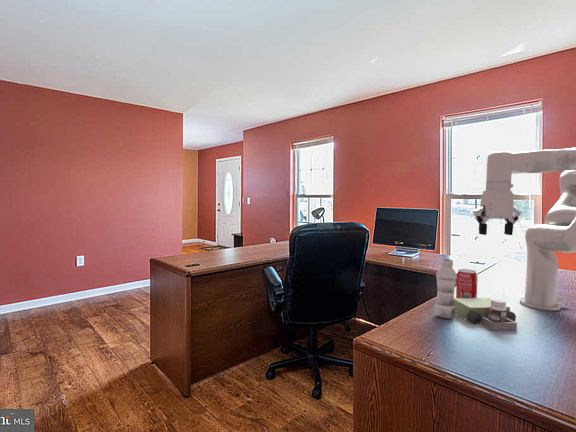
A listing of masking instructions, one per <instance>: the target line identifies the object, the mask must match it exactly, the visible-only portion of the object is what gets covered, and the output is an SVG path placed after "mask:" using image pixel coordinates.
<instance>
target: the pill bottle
mask: <svg viewBox="0 0 576 432" xmlns="http://www.w3.org/2000/svg"><path fill="white" fill-rule="evenodd" d="M490 299H491V305H490V306H489V318H488V319H489V320H490V321H492V322H506V310H507V309H506V307H505V306H507V302H506V301H505V300H503V299H499V298H490Z"/></svg>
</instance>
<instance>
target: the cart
mask: <svg viewBox="0 0 576 432" xmlns="http://www.w3.org/2000/svg"><path fill="white" fill-rule="evenodd" d="M491 299H492V298H490V297H477V298H456V297H454V305H455V315H456V316H457V317H460V318H461V319H462V320H464V319H465V321H466V322H467V323H471V324H473V325H478V324H480V325H482V326H484V327H485V326H486V327H485V328H487V329H489V330H490V329H491V330H490V331H492V330H493V332H516V331H517V328H518V326H517V325H518V323H517V322H516V319H517V315H516V314H515V312H512V311H511V307H510V306H507V305H506V306H505V307H506V309H507V310H506V322H492V321H490V320H489V319H488V318H489V306H490V305H491Z"/></svg>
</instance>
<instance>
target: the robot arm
mask: <svg viewBox="0 0 576 432" xmlns="http://www.w3.org/2000/svg"><path fill="white" fill-rule="evenodd" d="M486 160H487V161H486V177H485V178H486V179H485V180H486V182H485V190H483V191H482V194H481V198H480V205H479V207H478V208H476V209H474V210H472V214H473V216H474V219H475V220H476V221H477V223H478V234H479V235H483V236H486V235H487V234H488V224H487V222H488V221H489V220H490V219H495V220H497V219H499V220H501V219H503V220H504V221H505V222H506V223H505V224H504V230H503V231H504V235H507V236H513V232H514V225H515V224H516V222H517V221H518V219H519V217H520V216H521V214H522V213H521V212H522V211H520V210H518V209H517V208H515V205H514V195H513V191H512V189H513V187H514V184H512V176H513V175H514V174H515V175H516V174H545V173H556V172H557V173H558V172H562V173H561V174H560V175H559V178H558V179H559V180H558V182H559V184H558V185H559V189H560V191H559V192H560V197H559V199H558V200H557V202H555V204H554V205H553V206H552V207H551V208H550V210H549V211H548V212H547V213H546V215H545V217H544V224H539V223H538V224H534V225H530V226H529V227H528V228H527V229H526V231H525V235H524V236H525V237H524V238H525V244H526V254H527V255H526V259H527V260H526V270H525V271H526V272H525V287H524V288H525V289H524V297H522V298H520V299H519V303H520V304H521V305H523V306H526V307H528V308H532V309H537V310H542V311H550V312H551V311H552V312H553V311H560V310H561V309H562V308H561V305H560V304H559V303H561V302H563V303H565V302H566V303H567V302H568V298H567V297H566V296H559V295H557V287H558V272H559V270H558V269H559V260H558V257H557V256H556V253H555V252H559V253H566V254H575V253H576V147H571V148H556V149H555V148H554V149H541V150H539V149H538V150H534V151H533V150H532V151H520V152H510V151H493V152H490V153H489V154H488V155H487V159H486Z"/></svg>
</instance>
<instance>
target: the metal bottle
mask: <svg viewBox="0 0 576 432" xmlns="http://www.w3.org/2000/svg"><path fill="white" fill-rule="evenodd" d="M440 265H441V267H440V268H439V269H438V270H436V271H437V272H436V276H435V277H436V286H437V287H436V288H437V290H436V291H437V294H436V302H435V304H434V313H435V315H436V316H437V317H439V318H441V319H447V320H448V319H453V318H454V317H455V315H456V314H455V305H454V298H455V292H456V289H455V288H456V283H457V273H456V271H455V270H454V268H453V266H454V260H453V259H449V258H441V261H440Z"/></svg>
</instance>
